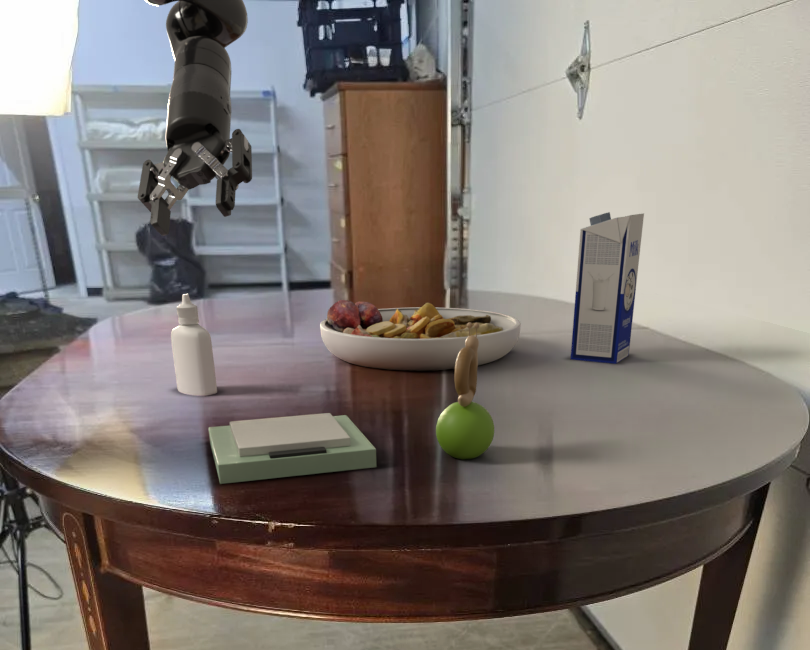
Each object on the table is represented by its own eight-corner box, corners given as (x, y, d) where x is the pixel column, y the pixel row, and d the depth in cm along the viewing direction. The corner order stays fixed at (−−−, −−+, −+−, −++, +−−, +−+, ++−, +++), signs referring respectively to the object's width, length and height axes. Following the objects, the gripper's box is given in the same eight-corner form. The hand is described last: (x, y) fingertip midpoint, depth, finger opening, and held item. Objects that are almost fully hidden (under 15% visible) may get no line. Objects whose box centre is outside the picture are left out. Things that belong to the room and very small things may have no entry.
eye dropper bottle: (210, 386, 100) (199, 290, 95) (219, 396, 96) (208, 295, 91) (176, 390, 99) (163, 292, 94) (183, 400, 94) (169, 298, 89)
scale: (220, 486, 67) (216, 455, 66) (210, 446, 77) (207, 419, 76) (376, 469, 70) (376, 440, 69) (347, 433, 81) (346, 407, 80)
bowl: (522, 339, 129) (525, 290, 126) (514, 379, 102) (517, 318, 99) (348, 335, 134) (346, 288, 131) (296, 373, 107) (292, 315, 104)
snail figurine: (497, 447, 76) (502, 322, 71) (489, 469, 70) (494, 334, 65) (443, 444, 77) (444, 321, 72) (430, 465, 71) (431, 332, 66)
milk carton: (615, 365, 110) (631, 213, 101) (569, 361, 113) (581, 213, 104) (628, 356, 115) (644, 211, 107) (584, 353, 118) (597, 211, 110)
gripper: (131, 109, 94) (119, 215, 89) (233, 71, 90) (227, 180, 84) (169, 155, 101) (159, 257, 95) (265, 122, 96) (261, 226, 91)
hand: (191, 221), depth 90 cm, fingers open, 8 cm apart
